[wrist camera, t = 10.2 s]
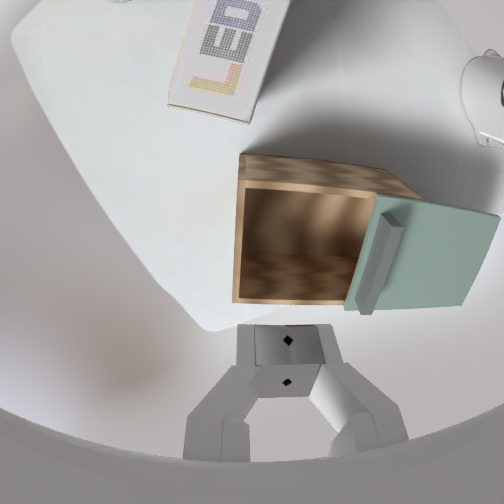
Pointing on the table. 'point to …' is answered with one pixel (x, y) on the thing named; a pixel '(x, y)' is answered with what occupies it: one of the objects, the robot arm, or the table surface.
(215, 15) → the packaging
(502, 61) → the robot arm
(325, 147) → the table surface
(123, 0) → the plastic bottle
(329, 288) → the wooden box
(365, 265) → the lid
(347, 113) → the table surface
